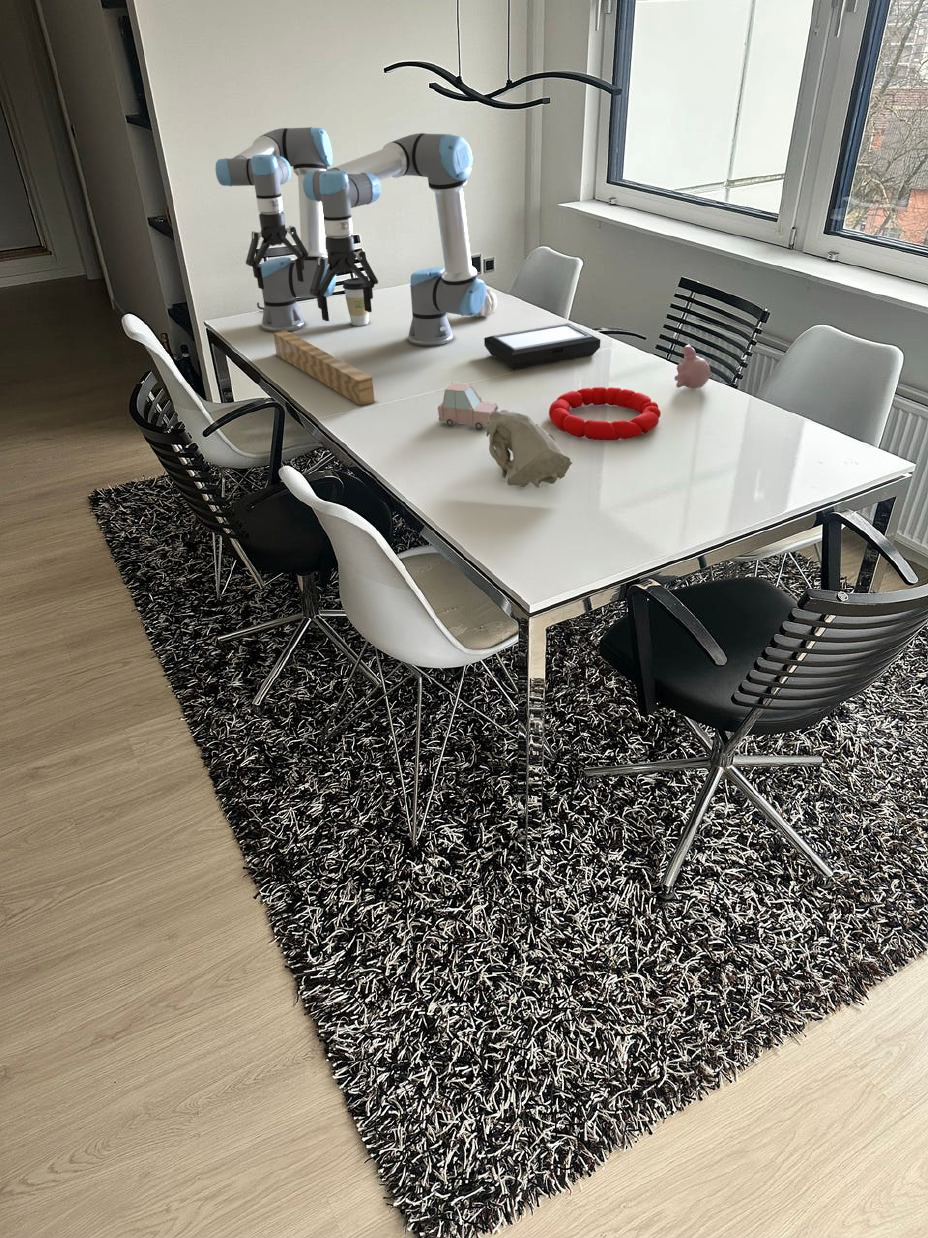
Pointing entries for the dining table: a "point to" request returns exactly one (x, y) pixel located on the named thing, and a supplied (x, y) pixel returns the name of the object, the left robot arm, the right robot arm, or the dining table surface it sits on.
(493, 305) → the seashell
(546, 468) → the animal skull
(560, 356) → the electronic device
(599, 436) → the decorative ring
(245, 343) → the dining table surface
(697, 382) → the figurine
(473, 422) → the toy car
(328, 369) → the bar
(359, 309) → the coffee cup
